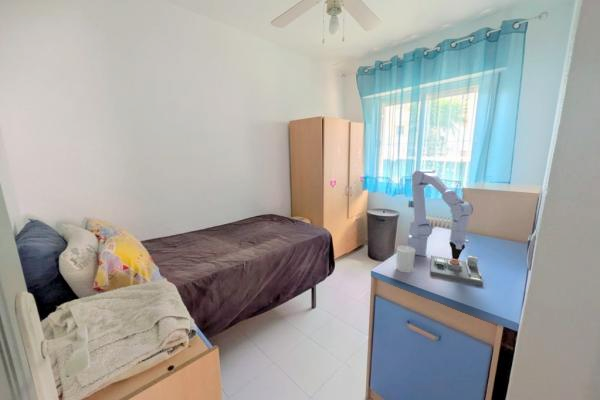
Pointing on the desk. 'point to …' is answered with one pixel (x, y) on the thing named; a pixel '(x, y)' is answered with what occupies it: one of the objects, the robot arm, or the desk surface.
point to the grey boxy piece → (472, 261)
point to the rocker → (440, 261)
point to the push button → (454, 261)
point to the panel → (455, 271)
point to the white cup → (405, 258)
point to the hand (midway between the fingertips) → (455, 258)
